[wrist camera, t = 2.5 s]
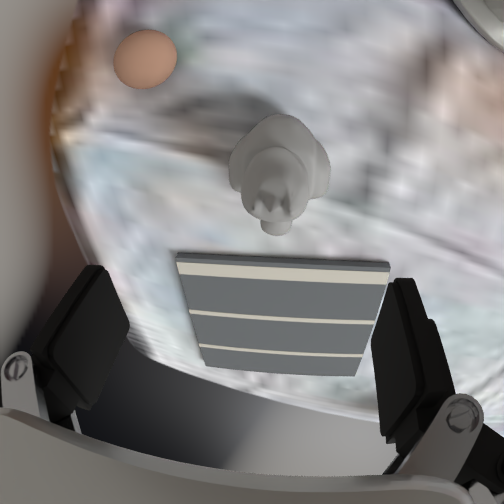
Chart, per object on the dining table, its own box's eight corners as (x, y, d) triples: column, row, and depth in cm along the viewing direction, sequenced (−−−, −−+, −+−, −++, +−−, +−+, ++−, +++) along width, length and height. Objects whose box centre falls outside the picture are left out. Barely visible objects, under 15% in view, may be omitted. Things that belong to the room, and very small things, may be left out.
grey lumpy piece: (331, 111, 16) (351, 160, 10) (320, 210, 20) (325, 298, 14) (236, 105, 17) (194, 150, 11) (238, 203, 21) (208, 287, 15)
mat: (177, 252, 24) (175, 257, 24) (389, 262, 22) (390, 268, 22) (207, 361, 33) (205, 366, 33) (354, 371, 31) (354, 376, 31)
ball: (129, 36, 15) (97, 39, 12) (183, 25, 14) (158, 23, 11) (136, 87, 17) (106, 99, 14) (188, 79, 16) (165, 89, 14)
